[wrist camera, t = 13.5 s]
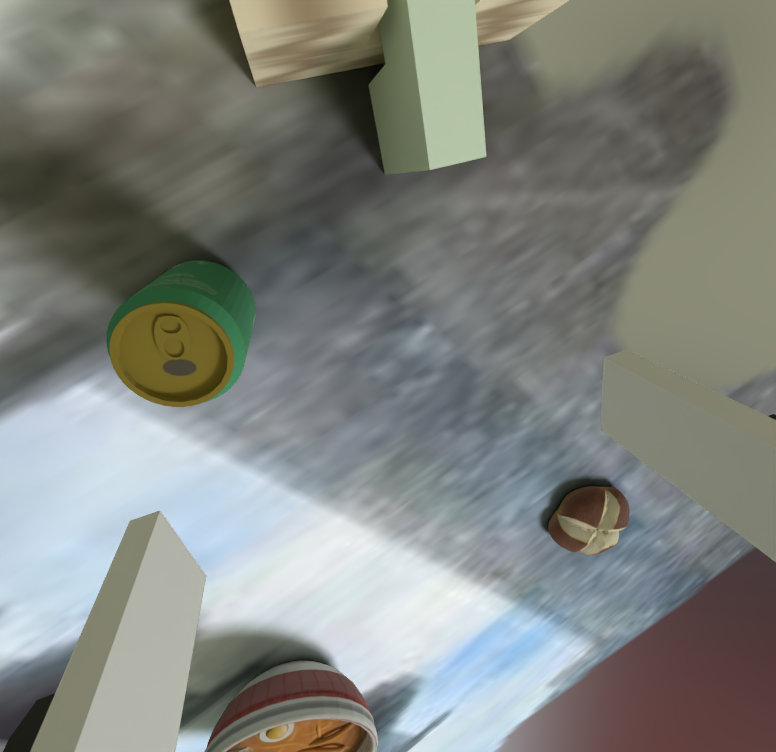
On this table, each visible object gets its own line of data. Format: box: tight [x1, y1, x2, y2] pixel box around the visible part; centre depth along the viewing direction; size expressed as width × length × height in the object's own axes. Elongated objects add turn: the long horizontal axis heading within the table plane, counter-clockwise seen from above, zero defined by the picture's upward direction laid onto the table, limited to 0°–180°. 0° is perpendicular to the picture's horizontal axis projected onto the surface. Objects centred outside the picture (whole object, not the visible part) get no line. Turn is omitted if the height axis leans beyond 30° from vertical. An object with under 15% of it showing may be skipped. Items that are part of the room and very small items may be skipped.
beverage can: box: [107, 260, 256, 407], centre depth 29 cm, size 8×8×12 cm
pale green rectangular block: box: [369, 0, 486, 174], centre depth 24 cm, size 18×4×12 cm, turn 12°
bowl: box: [205, 661, 378, 752], centre depth 56 cm, size 23×23×10 cm
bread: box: [548, 486, 629, 555], centre depth 57 cm, size 11×11×5 cm
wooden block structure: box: [230, 0, 569, 87], centre depth 24 cm, size 20×4×12 cm, turn 101°
